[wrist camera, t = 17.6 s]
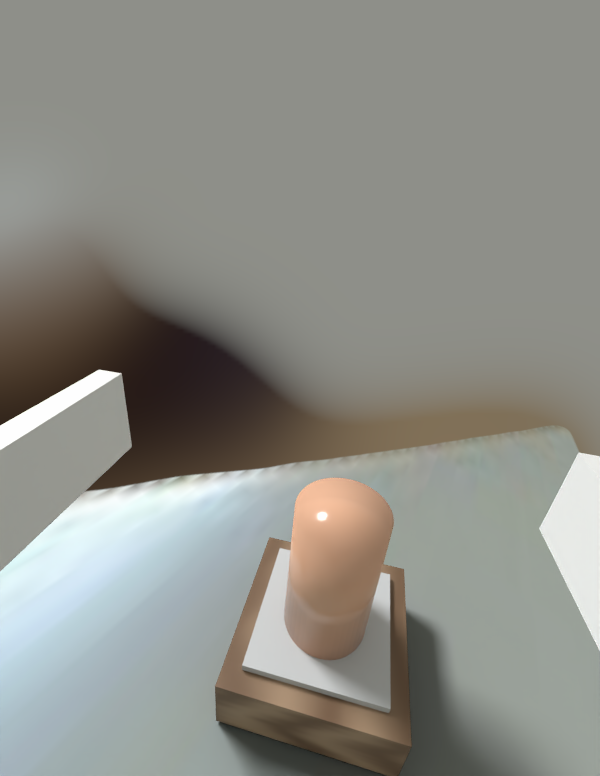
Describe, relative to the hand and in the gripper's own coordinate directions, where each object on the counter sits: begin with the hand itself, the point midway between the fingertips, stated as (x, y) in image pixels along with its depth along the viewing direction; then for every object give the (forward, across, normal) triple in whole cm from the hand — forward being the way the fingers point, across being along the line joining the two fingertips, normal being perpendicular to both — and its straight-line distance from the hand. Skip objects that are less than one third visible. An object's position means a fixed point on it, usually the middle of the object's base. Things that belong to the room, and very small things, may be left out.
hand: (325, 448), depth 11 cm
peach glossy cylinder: (+11, +1, -25) cm, 27 cm away
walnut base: (+11, +1, -30) cm, 32 cm away
